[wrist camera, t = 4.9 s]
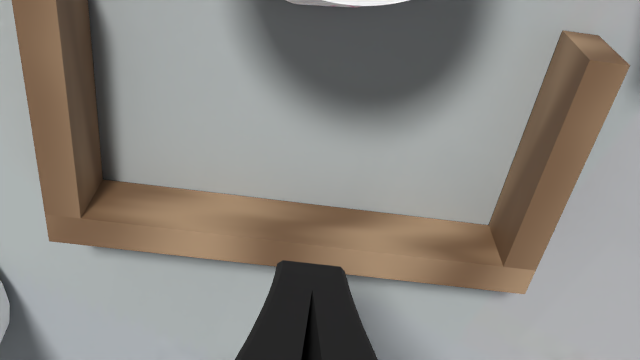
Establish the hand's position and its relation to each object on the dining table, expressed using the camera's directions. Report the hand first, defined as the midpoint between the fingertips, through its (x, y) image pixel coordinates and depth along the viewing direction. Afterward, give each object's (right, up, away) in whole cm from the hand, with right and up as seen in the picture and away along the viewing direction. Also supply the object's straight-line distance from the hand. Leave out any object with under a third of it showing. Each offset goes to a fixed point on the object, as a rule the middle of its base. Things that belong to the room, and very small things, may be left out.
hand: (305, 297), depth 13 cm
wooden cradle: (0, +4, +8) cm, 9 cm away
